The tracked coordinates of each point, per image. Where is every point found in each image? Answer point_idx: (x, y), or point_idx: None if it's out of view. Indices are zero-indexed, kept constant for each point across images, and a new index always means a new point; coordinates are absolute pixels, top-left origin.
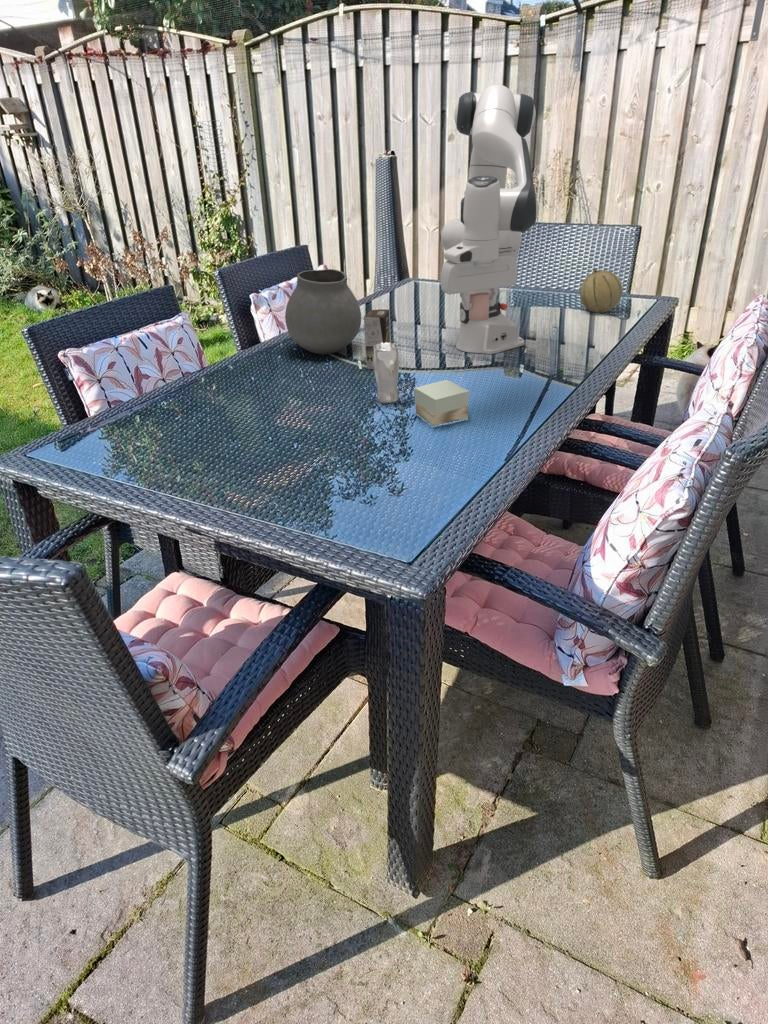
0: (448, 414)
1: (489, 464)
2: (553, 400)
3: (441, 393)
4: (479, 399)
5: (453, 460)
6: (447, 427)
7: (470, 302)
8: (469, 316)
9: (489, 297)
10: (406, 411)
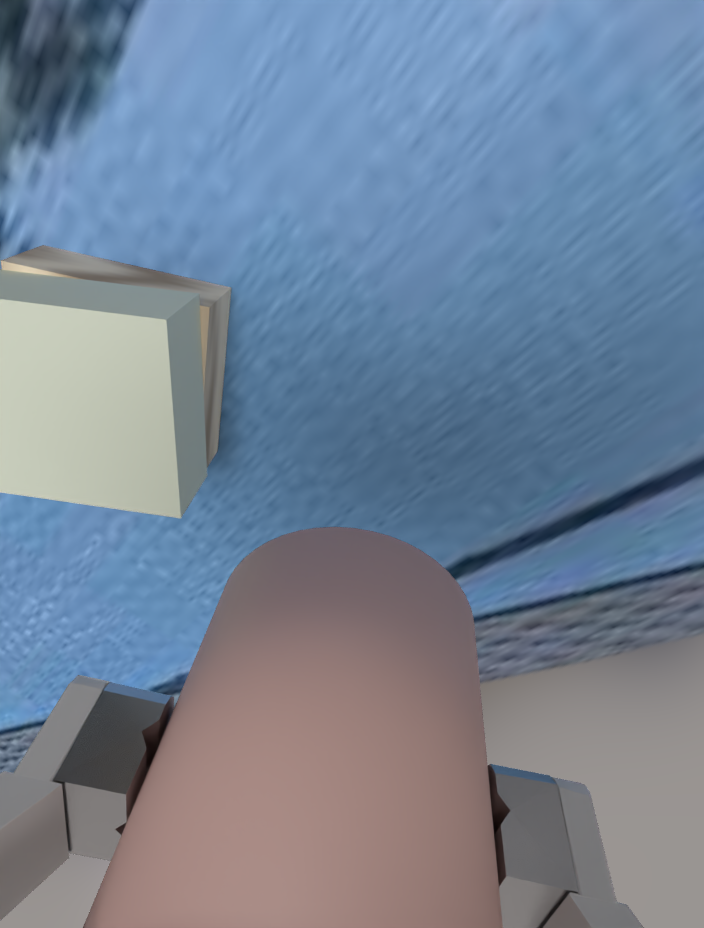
0: None
1: (102, 679)
2: (645, 543)
3: (43, 454)
4: (413, 315)
5: (21, 613)
6: None
7: (104, 847)
8: (215, 611)
9: (569, 921)
10: (11, 179)
